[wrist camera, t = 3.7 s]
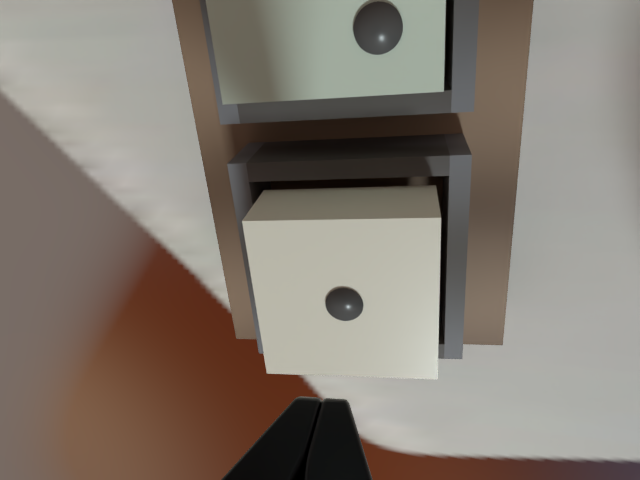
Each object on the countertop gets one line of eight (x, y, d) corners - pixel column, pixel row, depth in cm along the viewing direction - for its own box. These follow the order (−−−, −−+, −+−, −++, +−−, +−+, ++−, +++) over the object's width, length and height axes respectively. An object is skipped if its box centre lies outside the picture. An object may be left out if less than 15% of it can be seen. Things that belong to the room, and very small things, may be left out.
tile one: (433, 331, 14) (437, 381, 13) (282, 328, 15) (266, 374, 13) (436, 185, 12) (441, 218, 11) (263, 189, 13) (241, 222, 11)
